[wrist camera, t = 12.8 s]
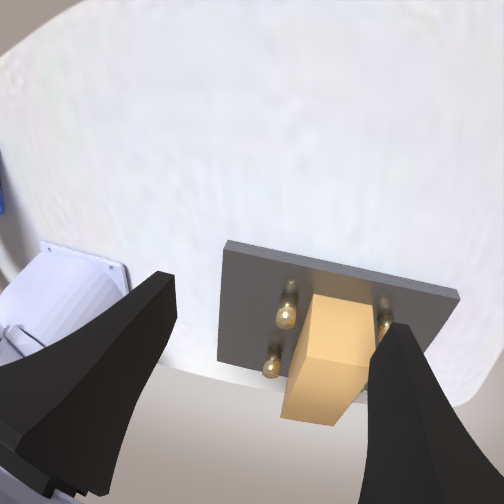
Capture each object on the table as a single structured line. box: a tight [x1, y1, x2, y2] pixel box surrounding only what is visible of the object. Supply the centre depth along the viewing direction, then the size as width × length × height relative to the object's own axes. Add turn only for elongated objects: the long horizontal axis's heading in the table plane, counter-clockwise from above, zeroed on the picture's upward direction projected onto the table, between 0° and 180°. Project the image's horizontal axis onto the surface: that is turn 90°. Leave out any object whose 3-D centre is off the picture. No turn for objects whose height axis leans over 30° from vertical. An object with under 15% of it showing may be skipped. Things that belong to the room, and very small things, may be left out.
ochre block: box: [281, 294, 376, 426], centre depth 21 cm, size 4×8×5 cm, turn 173°
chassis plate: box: [217, 240, 460, 393], centre depth 22 cm, size 16×12×3 cm
